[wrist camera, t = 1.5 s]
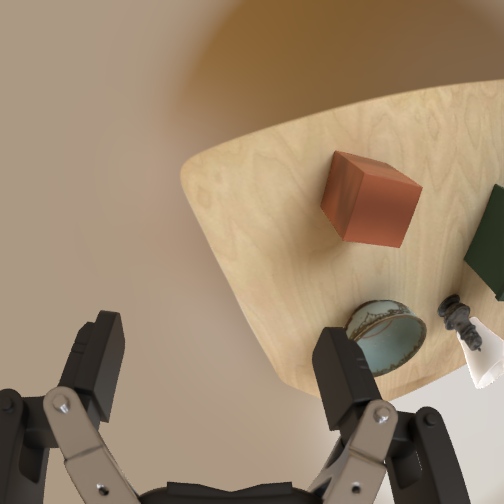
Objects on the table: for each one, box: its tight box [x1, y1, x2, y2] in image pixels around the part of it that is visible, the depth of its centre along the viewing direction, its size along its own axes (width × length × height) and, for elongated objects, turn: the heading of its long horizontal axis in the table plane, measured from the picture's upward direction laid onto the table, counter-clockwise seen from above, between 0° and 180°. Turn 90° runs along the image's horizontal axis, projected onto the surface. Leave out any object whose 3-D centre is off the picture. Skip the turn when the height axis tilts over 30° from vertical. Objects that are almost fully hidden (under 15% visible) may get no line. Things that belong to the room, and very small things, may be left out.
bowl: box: [344, 300, 426, 377], centre depth 42 cm, size 14×13×8 cm
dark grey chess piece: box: [438, 295, 482, 352], centre depth 43 cm, size 6×6×12 cm
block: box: [321, 151, 423, 248], centre depth 31 cm, size 7×7×8 cm
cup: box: [457, 317, 504, 389], centre depth 47 cm, size 10×10×14 cm
